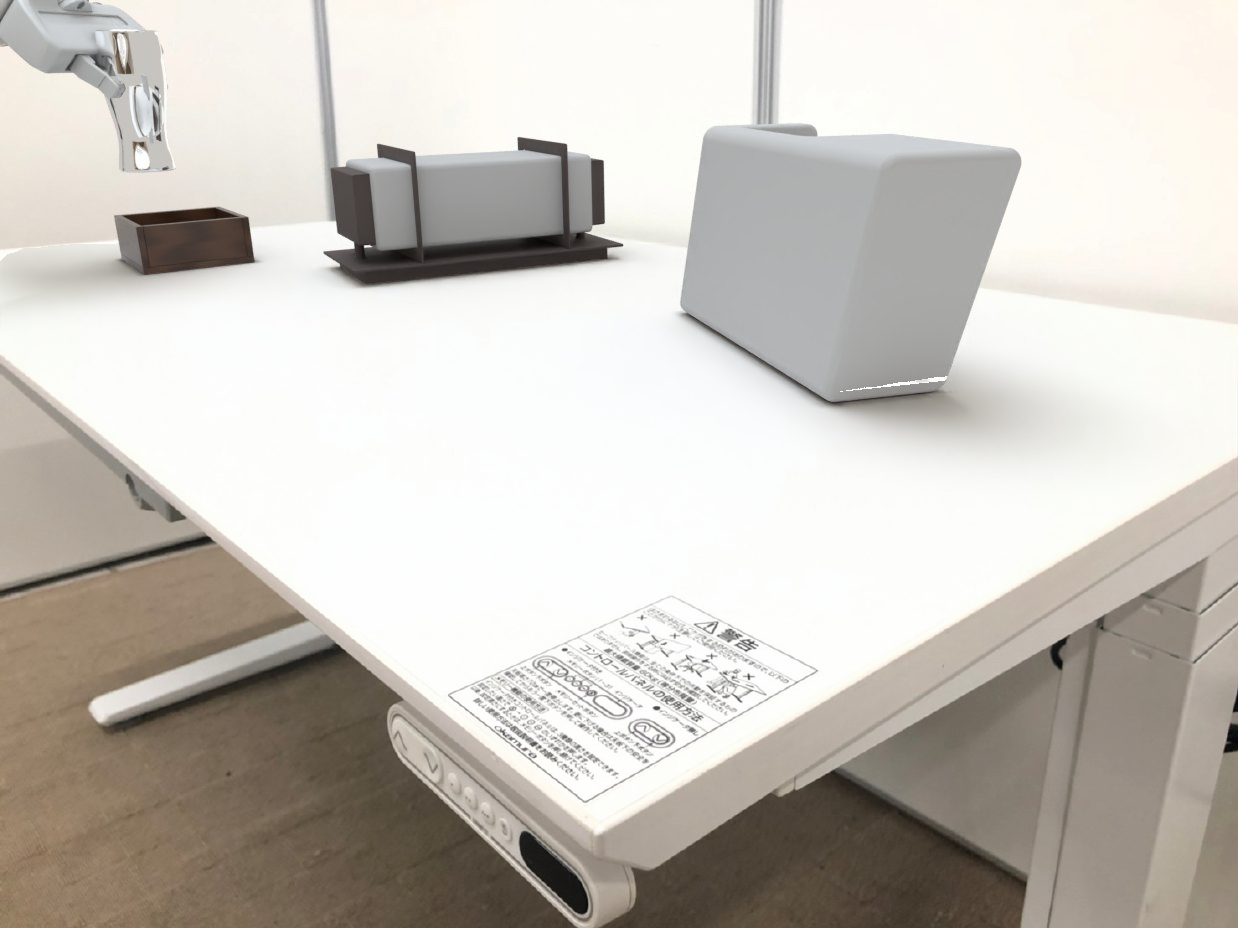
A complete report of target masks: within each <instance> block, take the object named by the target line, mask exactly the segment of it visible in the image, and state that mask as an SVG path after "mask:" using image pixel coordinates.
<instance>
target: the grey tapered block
mask: <svg viewBox="0 0 1238 928" xmlns="http://www.w3.org/2000/svg"><path fill="white" fill-rule="evenodd" d="M1021 168H1022V157H1021V154H1020V152H1018V151H1017V150H1016V149H1015V148H1013V147H1007V146H998V145H989V144H982V143H974V142H973V143H972V142H964V141H956V140H955V141H954V140H947V139H940V138H939V139H938V138H929V137H920V136H911V135H905V134H895V133H875V134H874V133H873V134H851V135H849V134H848V135H846V134H845V135H820V136H818V130H817V128H816V127H815V126H814V125H813V124H811V123H810V124H809V123H801V122H789V123H761V124H759V123H758V124H729V125H728V124H727V125H725V124H724V125H713V126H711V127H709V128H708V129H707V130H706V131H705V132H704V135H703V137H702V144H701V150H700V158H699V166H698V172H697V178H696V179H697V180H696V186H695V192H694V193H695V194H694V201H693V206H692V214H691V223H690V229H689V236H688V243H687V251H686V257H685V265H684V273H683V280H682V285H681V293H680V301H679V305H680V308H681V310H682V311H683V312H685V313H687V314H688V315H690V316H692V317H694V318H695V319H697V320H698V321H699V322H702V323H703V324H704V325H706V326H707V327H709V328H711V329H712V330H714V331H715V332H717V333H719V334H720V335H723V336H724V337H725V338H726V339H728V340H729V341H732V342H733V343H735V344H736V345H738V346H740V347H741V348H742V349H745V351H747V352H749V353H751V354H752V355H754V356H756V357H757V358H759V359H760V360H762V361H763V362H765V363H767V364H768V365H770V366H772V368H773V367H774V368H775V369H776V370H778V371H779V372H782V373H783V374H784V375H786V376H788V377H789V378H790V379H792V380H794V381H796V382H797V383H799V384H800V385H802V386H803V387H805V388H806V389H808V390H810V391H811V392H813V393H815V394H816V395H818V396H820V398H822V399H825V400H826V401H828V402H831V403H839V402H848V401H849V402H850V401H856V400H858V401H859V400H866V399H867V400H869V399H876V398H884V397H885V398H887V397H895V396H904V395H914V394H923V393H932V392H935V391H937V390H940V389H941V387H943V386H944V385H945V384H946V382H947V380H945V381H938V382H929V383H919V384H910V385H900V386H891V387H881V388H872V389H862V390H853V391H846V390H852V389H858V388H859V389H860V388H864V387H865V388H866V387H877V386H883V385H887V384H893V383H898V382H908V381H909V382H910V381H915V380H922V379H928V378H934V377H945V376H948V377H949V374H950V372H951V369H952V365H953V363H954V360H955V357H956V354H957V352H958V348H959V345H960V343H961V340H962V337H963V334H964V331H965V329H966V325H967V322H968V319H969V316H970V314H971V312H972V308H973V305H974V302H975V300H976V298H977V294H978V291H979V288H980V285H981V282H982V280H983V277H984V274H985V272H986V268H987V266H988V263H989V259H990V257H991V254H992V252H993V248H994V245H995V243H996V239H997V236H998V234H999V231H1000V228H1001V225H1002V222H1003V220H1004V217H1005V214H1006V211H1007V208H1008V205H1009V202H1010V199H1011V197H1012V195H1013V191H1014V188H1015V186H1016V182H1017V179H1018V176H1019V174H1020V171H1021ZM840 391H843V392H840Z"/></svg>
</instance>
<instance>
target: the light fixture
mask: <svg viewBox="0 0 1238 928" xmlns="http://www.w3.org/2000/svg"><path fill="white" fill-rule="evenodd" d="M376 152H377V157H372V158H369V157H368V158H354V159H353V158H351V159H348V160H347V161H346V162H345V166H334V167H330V178H331V187H332V196H333V197H332V198H333V206H334V215H335V216H334V217H335V224H336V233H337V234H338V235H340V236H341V237H343V238H345V239H347V240H349V241H350V242H352V243H353V248H345V249H334V250H325V251H323V252H322V253H323V255H324V256H326V257H327V258H328V259H331V260H333V261H334V262H336V263H337V264H339V268H340V269H341V270H343V271H345V272H346V273H347V274H349V275H351V277H354V278H355V279H357V280H358V281H360V282H361V283H363V284H365V285H372V284H380V283H389V282H400V281H410V280H419V279H420V280H421V279H428V278H438V277H447V276H457V275H466V274H474V273H475V274H477V273H485V272H495V271H496V272H497V271H504V270H514V269H525V268H532V267H533V268H534V267H542V266H543V267H544V266H552V265H561V264H573V263H581V262H591V261H600V260H608V249H613V248H622V247H624V243H622V242H618V241H614V240H611V239H608V238H605V237H601V236H597V235H595V234H591V233H590V232H592V230H593V226H599V225H604V224H606V206H605V204H606V202H605V161H604V159H599V158H592V157H591V156H590V155H589V154H587V153H580V152H574V151H568V143H565V142H558V141H552V140H551V141H549V140H543V139H537V138H529V137H522V136H517V150H500V151H483V152H465V153H463V152H462V153H447V154H427V155H424V154H423V155H416V152H415V151H413V150H409V149H405V148H400V147H395V146H391V145H386V144H381V143H377V144H376ZM365 246H368V247H365Z"/></svg>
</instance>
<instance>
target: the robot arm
mask: <svg viewBox="0 0 1238 928" xmlns="http://www.w3.org/2000/svg"><path fill="white" fill-rule="evenodd" d="M89 1H90V0H0V48H1V47H9V48H10V49H11V50H12V51H13V52H14V53H16V54H17V55H18V57H20V58H21V59H22V60H23V61H24V62H26V64H28V65H29V66H31V67H32V68H34V69H36V70H38V71H40V72H42V73H43V74H74V75H75V76H76V77H77V78H78V79H79V80H82V81H83V82H85V83H87V84H88V85H91V86H92V87H94V88H96V89H98V90H99V91H100V92H101V93H102V94H103V96H104V95H105V96H106V97H107V98H109V99H111V98H120V96H121V94H122V93H123V92H124V91H125V87H124V85H123V84H122V83H120V82H119V80H118V79H116V78H115V77H114V76H109V75H108V74H107V73H105V72H104V71H103V70H101V69H100V68H99V67H98V66H97V58H96V54H99V48H98V45H97V43H96V41H95V36H94V30H146V28H145V27H144V26H142V25H141V24H140V23H139V22H138V21H137V20H136V19H134V17H132V16H131V15H130V14H128V13H127V12H125V11H124V10H122V9H121V8H119V7H118V6H115V5H110V4H103V3H101V2H99V1H98V2H96V1H95V2H89ZM160 46H161V50H162V54H163V55H164V52H165V51H164V48H163V45H162V44H161V43H160ZM167 90H169V85H168V84H167ZM105 96H104V97H105Z"/></svg>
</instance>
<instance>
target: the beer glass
mask: <svg viewBox="0 0 1238 928" xmlns="http://www.w3.org/2000/svg"><path fill="white" fill-rule="evenodd" d="M94 36H95V41H96V43H97V45H98V48H99V54H96V58H97V66H98V67H99V68H100V69H101V70H103V71H104V72H105V73H107V74H108V75H109V76H114V77H115V78H116V79H118V80H119V82H120V83H122V84H123V85H124V87H125V91H124V92H123V93H122V94H121V96H120V98H111V99H109V98H107V97H106V96H105V95H104V94H103V97H104V98H105V102H106V104H107V108H108V111H109V113H110V116H111V119H112V122H113V125H114V128H115V131H116V135H117V142H118V170H119V171H120V172H121V173H159V172H160V173H161V172H169V171H174V170H176V169H177V167H176V162H175V159H174V156H173V153H172V149H171V147H170V143H169V137H168V89H167V85H168V80H167V79H168V78H167V72H166V66H165V65H166V64H165V59H164V53H163V54H162V50H161V46H162V45H161V46H160V44H161V42H160V37H159V31H158V30H152V29H145V30H94Z"/></svg>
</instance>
